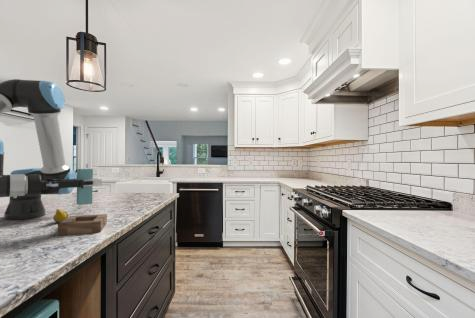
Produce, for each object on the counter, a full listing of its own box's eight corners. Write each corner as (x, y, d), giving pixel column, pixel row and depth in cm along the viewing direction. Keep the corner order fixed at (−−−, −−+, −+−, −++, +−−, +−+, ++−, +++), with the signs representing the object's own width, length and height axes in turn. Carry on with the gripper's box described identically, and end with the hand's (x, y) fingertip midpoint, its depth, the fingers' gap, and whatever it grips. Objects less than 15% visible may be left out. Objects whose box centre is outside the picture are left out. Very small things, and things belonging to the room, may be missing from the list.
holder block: (69, 225, 104) (69, 216, 104) (106, 223, 108) (106, 214, 108) (57, 235, 91) (57, 224, 91) (100, 232, 95) (100, 221, 95)
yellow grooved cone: (71, 221, 113) (67, 209, 106) (58, 228, 109) (53, 216, 102) (66, 213, 114) (61, 201, 108) (53, 220, 111) (47, 208, 104)
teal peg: (76, 203, 99) (77, 168, 99) (89, 202, 102) (89, 168, 103) (79, 204, 96) (79, 169, 96) (92, 203, 99) (92, 169, 99)
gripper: (24, 193, 93) (93, 189, 109) (28, 198, 80) (105, 192, 97) (24, 173, 93) (93, 172, 109) (28, 175, 81) (106, 173, 97)
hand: (99, 181), depth 103 cm, fingers closed on teal peg, 4 cm apart
